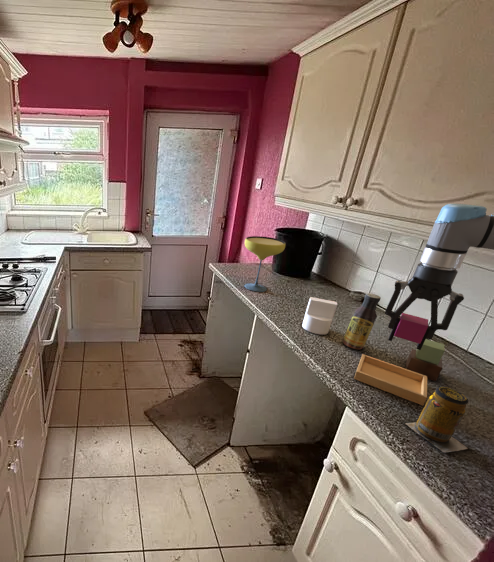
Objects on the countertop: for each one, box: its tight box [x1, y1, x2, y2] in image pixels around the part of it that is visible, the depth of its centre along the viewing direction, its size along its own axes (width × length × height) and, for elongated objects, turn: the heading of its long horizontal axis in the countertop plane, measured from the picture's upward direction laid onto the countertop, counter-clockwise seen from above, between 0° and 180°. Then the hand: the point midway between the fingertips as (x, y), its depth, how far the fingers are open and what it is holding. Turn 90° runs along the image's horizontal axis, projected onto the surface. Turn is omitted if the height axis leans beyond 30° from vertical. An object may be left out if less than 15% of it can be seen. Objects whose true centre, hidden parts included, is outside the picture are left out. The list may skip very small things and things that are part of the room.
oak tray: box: [353, 353, 428, 407], centre depth 93 cm, size 16×13×3 cm
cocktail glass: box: [243, 235, 286, 293], centre depth 155 cm, size 18×18×25 cm
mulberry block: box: [394, 312, 429, 344], centre depth 86 cm, size 6×6×6 cm
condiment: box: [404, 386, 469, 453], centre depth 72 cm, size 7×8×12 cm
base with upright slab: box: [301, 296, 338, 336], centre depth 120 cm, size 9×9×12 cm
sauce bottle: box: [342, 292, 381, 351], centre depth 107 cm, size 6×6×20 cm
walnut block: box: [405, 348, 443, 382], centre depth 97 cm, size 7×7×5 cm
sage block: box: [416, 339, 446, 365], centre depth 96 cm, size 5×5×5 cm
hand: (404, 343), depth 88 cm, fingers closed on mulberry block, 5 cm apart
